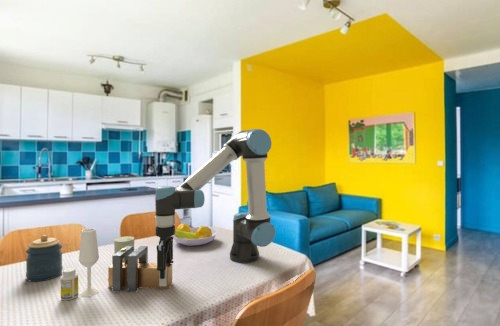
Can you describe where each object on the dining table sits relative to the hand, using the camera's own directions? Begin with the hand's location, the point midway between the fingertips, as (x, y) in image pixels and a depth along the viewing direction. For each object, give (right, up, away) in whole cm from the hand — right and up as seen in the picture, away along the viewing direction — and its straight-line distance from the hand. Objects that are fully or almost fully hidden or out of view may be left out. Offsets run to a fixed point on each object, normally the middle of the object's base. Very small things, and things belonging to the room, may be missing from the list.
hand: (165, 282), depth 117 cm
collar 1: (-17, -1, +1) cm, 17 cm away
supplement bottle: (-32, -2, -10) cm, 34 cm away
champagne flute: (-27, -1, -6) cm, 28 cm away
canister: (-55, -1, +9) cm, 56 cm away
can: (-27, -1, +25) cm, 37 cm away
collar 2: (-11, -1, 0) cm, 11 cm away
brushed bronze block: (-10, -1, 0) cm, 10 cm away
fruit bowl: (0, 0, +57) cm, 57 cm away
